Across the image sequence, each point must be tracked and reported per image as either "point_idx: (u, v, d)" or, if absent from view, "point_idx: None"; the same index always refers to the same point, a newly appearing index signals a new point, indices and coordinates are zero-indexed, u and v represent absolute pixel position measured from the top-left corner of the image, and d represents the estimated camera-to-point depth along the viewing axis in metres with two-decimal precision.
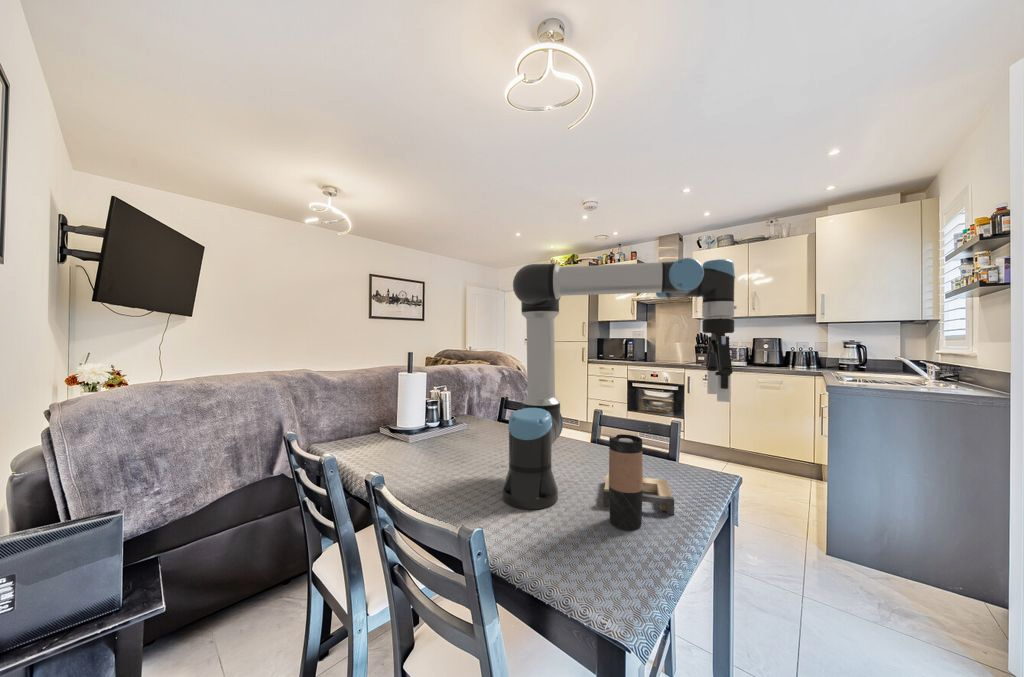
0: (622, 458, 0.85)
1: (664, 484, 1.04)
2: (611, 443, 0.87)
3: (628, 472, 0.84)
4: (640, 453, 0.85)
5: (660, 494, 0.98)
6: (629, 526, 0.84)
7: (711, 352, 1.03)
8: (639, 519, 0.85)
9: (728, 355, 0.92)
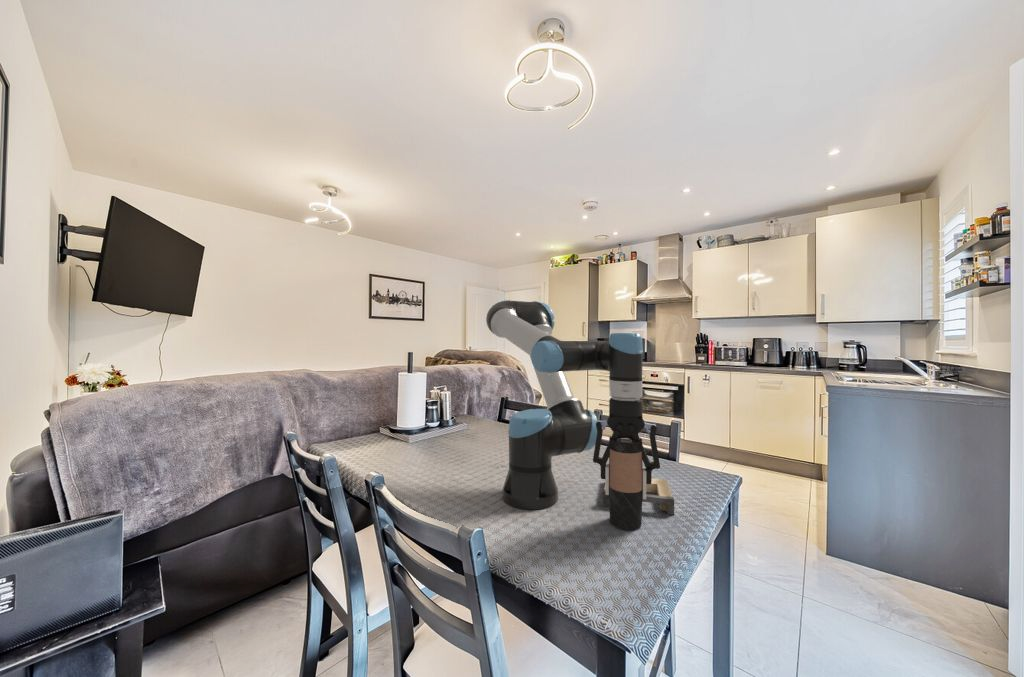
0: (622, 458, 0.85)
1: (664, 484, 1.04)
2: (611, 443, 0.87)
3: (628, 472, 0.84)
4: (640, 453, 0.85)
5: (660, 494, 0.98)
6: (629, 526, 0.84)
7: None
8: (639, 519, 0.85)
9: (595, 443, 0.89)
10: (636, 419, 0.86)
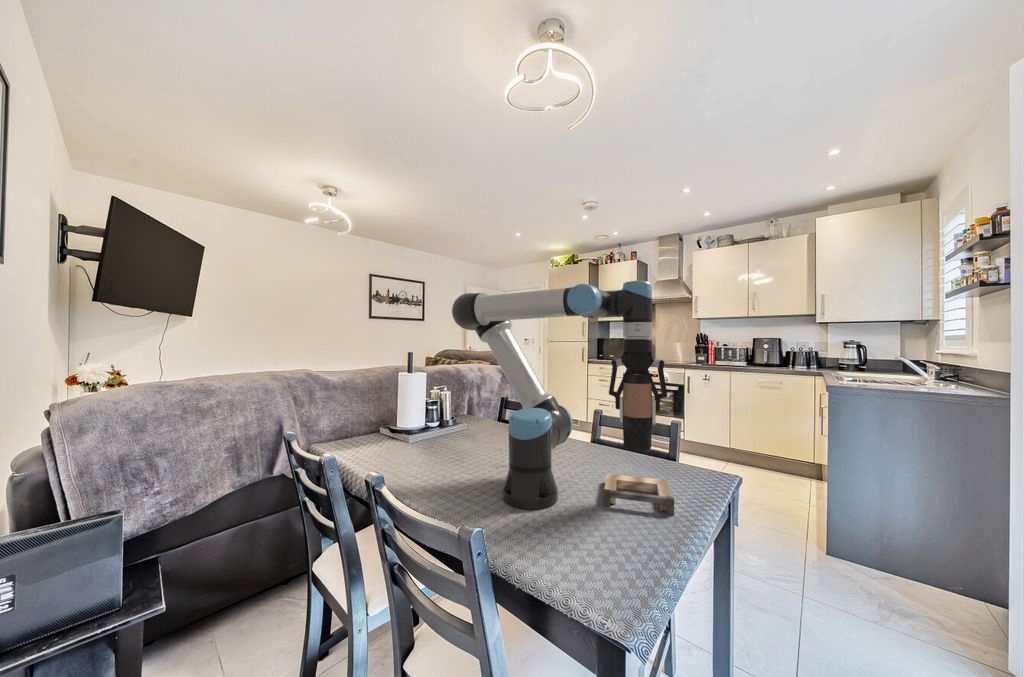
0: (634, 388, 0.98)
1: (664, 484, 1.04)
2: (625, 377, 1.00)
3: (639, 400, 0.97)
4: (650, 384, 0.98)
5: (660, 494, 0.98)
6: (641, 447, 0.98)
7: None
8: (649, 441, 0.98)
9: (611, 378, 1.02)
10: (646, 355, 0.99)
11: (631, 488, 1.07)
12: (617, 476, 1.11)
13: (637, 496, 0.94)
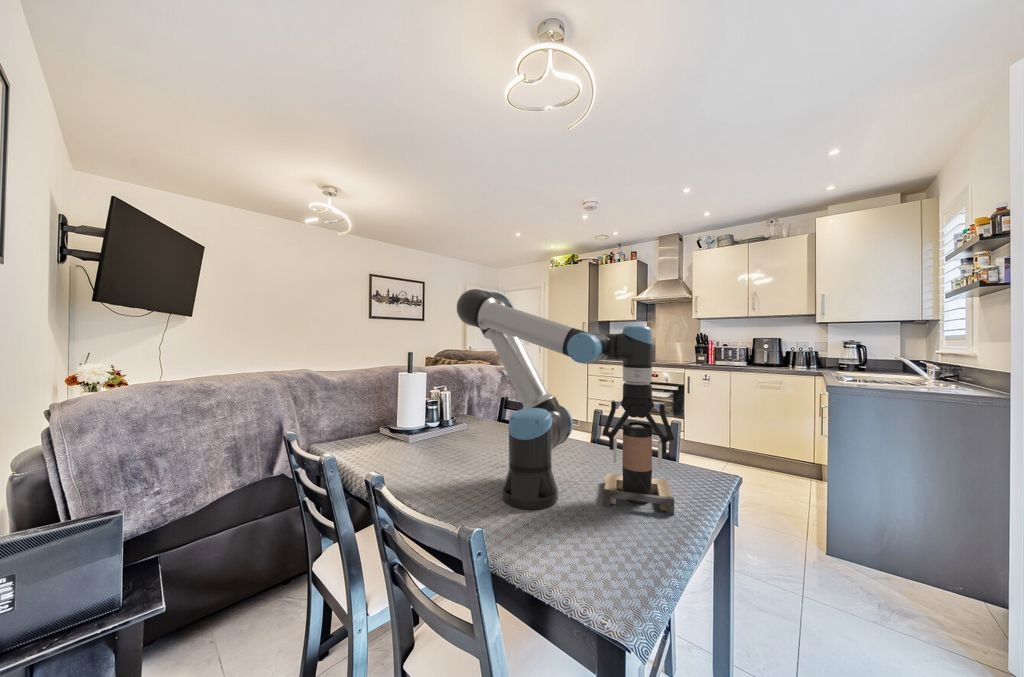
0: (634, 441, 0.98)
1: (664, 484, 1.04)
2: (625, 429, 1.00)
3: (639, 454, 0.98)
4: (650, 437, 0.99)
5: (660, 494, 0.98)
6: None
7: None
8: (649, 494, 0.99)
9: (607, 419, 1.03)
10: (646, 401, 1.00)
11: None
12: (617, 476, 1.11)
13: (637, 496, 0.94)
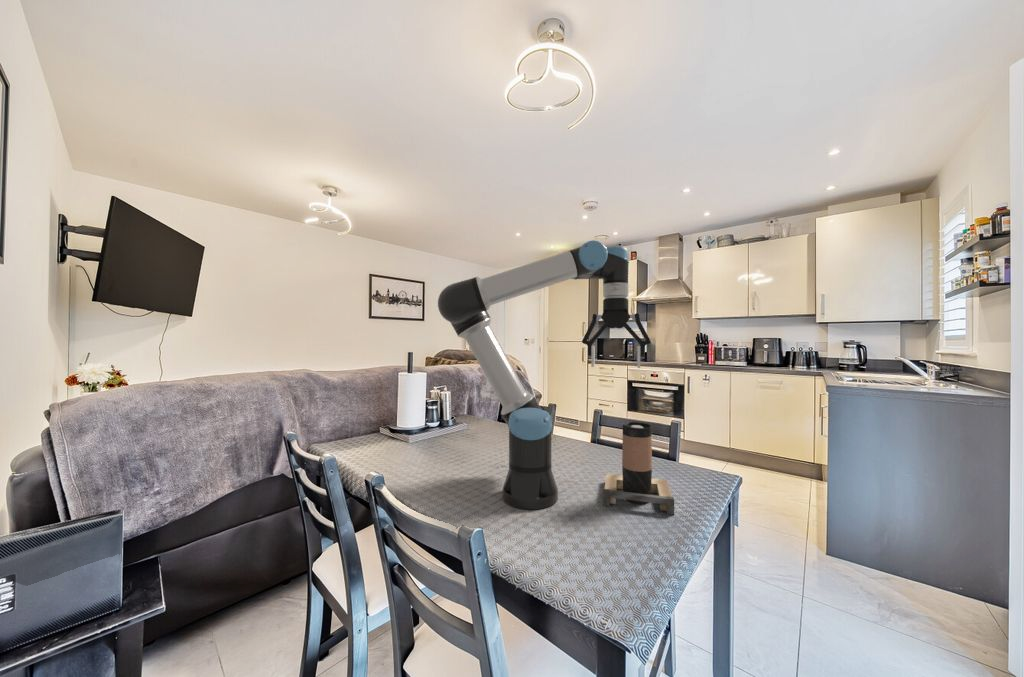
0: (634, 441, 0.98)
1: (664, 484, 1.04)
2: (624, 429, 1.00)
3: (639, 454, 0.98)
4: (650, 437, 0.99)
5: (660, 494, 0.98)
6: None
7: None
8: (649, 494, 0.99)
9: (588, 329, 1.16)
10: (622, 313, 1.13)
11: None
12: (617, 476, 1.11)
13: (637, 496, 0.94)
